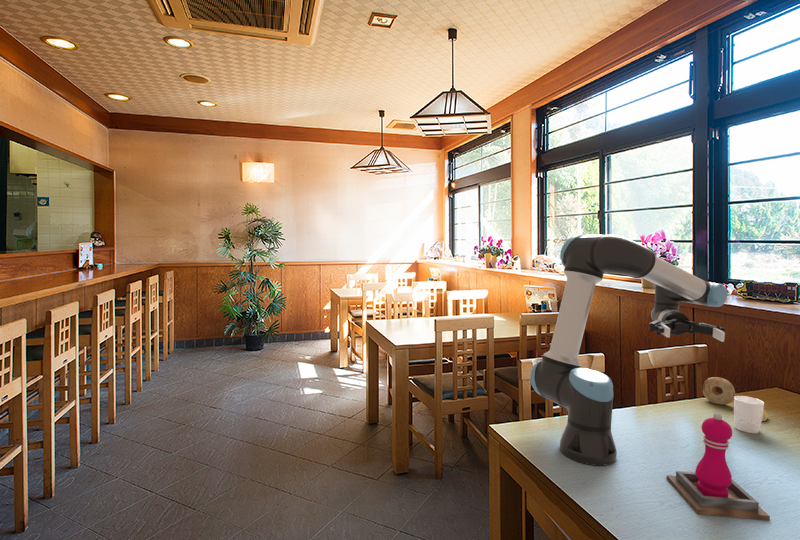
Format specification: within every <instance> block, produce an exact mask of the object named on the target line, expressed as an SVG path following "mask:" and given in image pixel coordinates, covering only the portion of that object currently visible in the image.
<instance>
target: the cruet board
mask: <svg viewBox="0 0 800 540" xmlns="http://www.w3.org/2000/svg"><path fill="white" fill-rule="evenodd" d="M675 471H676V472H675V475H672V474H666V480H667V481H668V482H669V483H670V484H671V486H672V487H673V488H674V489H675V491H677V493H679V495H680V496H681V497H682V498H683V500H685V502H686V503H687V504H688V505H689V506H690V507H691V508H692V509H693V511H694V512H695V513H696V514H697V515H705V516H707V515H708V516H715V517H716V516H718V517H726V518H727V517H728V518H729V517H730V518H738V519H739V518H741V519H752V520H764V521H770V520H771V519H770V518H771V516H770V514H768V513H767V512H766V511H765V510H764V509H763V508H761V506H759V504H760V502H758V501H757V500H756V499H755V498H754V497H753V496H752V495H750V493H748V492H747V491H746V490H745V489H744V488H743V487H742V486H740V485H739V484H738V483H737V482H735V481H734V479H732V484H731V485H730V486H729V487H728V488H727V489H728V491H729V492H728V498H723V497H711V496H704V495H703V494H702V493H701V492H700V491H699V490H698V489H697V482H698V481H699V479H698V478H697V476H696V474H695V471H693V472H690V471H682V470H681V471H679V470H675Z"/></svg>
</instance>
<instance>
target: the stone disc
mask: <svg viewBox="0 0 800 540" xmlns="http://www.w3.org/2000/svg"><path fill="white" fill-rule="evenodd" d="M717 388H719V389H721V392H720V393H719V392H717V391H716V389H717ZM702 394H703V397H705V399H706V400H708V401H709V402H710V403H713V404H716V405H728V404H731V403H734V397H735V396H736V391H735V387H734V385H733V384H732V382H730V381H729V380H728V379H725V378H723V377H718V376H715V377H714V376H712V377H708V378H707V379H705V381H704V382H703V386H702Z"/></svg>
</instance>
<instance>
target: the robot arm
mask: <svg viewBox="0 0 800 540" xmlns="http://www.w3.org/2000/svg"><path fill="white" fill-rule="evenodd" d="M559 253H560V255H559V259H560V260H561V264H562V266H563V267H564V269H563V274H564V275H565V276H566V281H565V282H566V283H565V286H564V290H563V294H562V298H561V301H560V302H561V303H560V306H559V310H558V314H557V319H556V323H555V326H554V330H553V334H552V337H551V338H552V339H551V343H550V348H549V350H548V351H547V352H544V353H543V355H542V359H540V360H538V361H536V363H535V364H533V366H532V368H531V371H530V375H529V376H530V377H529V378H530V384H531V386H532V389H533V390H534V392H536V393H537V395H539V396H541V397H542V398H543V399H544V400H547V401H550V402H552V403H554V404H557V405H559V406H561V407H563V408H565V409H567V422H566V423H567V424H566V426H565V428H564V430H563V433H562V435H561V438H560V441H559V450H560V452H561V453H562V454H563V455H564V456H565V457H567V458H569V459H571V460H573V461H575V460H576V461H575V462H578V461H579V462H578V463H581V462H583V463H582V464H585V463H588V464H587V465H590V464H595V465H594V466H605V465H604V464H609V465H612V464H614V463H615V462H616V461H617V447H616V443H615V439H614V436H613V433H612V420H613V405H614V403H613V402H614V385H613V381H612V379H611V378H610V377H609V376H608V375H607V374H605V373H603V372H600V371H599V370H595V369H590V368H587V367H582V364H581V362H580V361H579V354H580V349H581V345H582V342H583V337H584V333H585V331H586V330H585V329H586V325H587V321H588V317H589V312H590V309H591V305H592V300H593V296H594V293H595V288H596V285H597V284H598V283H600V282H601V281H603V279H604V278H603V277H604V274H617V275H625V276H629V277H632V278H634V279H644V280H645V281H648V282H650V283H652V284H654V287H655V289H654V290H655V292H654V304H653V306H654V307H653V309H652V310H651V311H650V312H651V313H650V317H651V320H652V321H651V322H649V327H648V328H649V329H648V330H649V332H650V333H651V332H652V333H653V332H655V335H657V336H661V335H663V336H664V337H666V338H668V339H670V338H671V335H673V336H681V335H685V334H686V333H690V334H697V333H698V334H701V335H702V334H703V335H708V336H712V338H713V339H716V340H717V341H720V342H722V343H723V342H725V338H726V334H727V328H725V327H721V326H720V325H713V324H708V323H705V322H695V321H691V320H690V319H689V317H688V316H687V315H685V314H684V313H682V312H681V311H680V303H687V304H695V305H701V306H706V307H713V308H714V307H715V308H718V307H719V308H720V307H722V306H724V304H725V303H726V301H727V299H728V298H727V297H728V290H727V287H726V286H725V285H724V284H722V283H716V282H710V281H709V282H708V281H706V280H704V279H702V278H699V277H698V276H696V275H694V274H692V273H690V272H689V271H686V270H684V269H683V268H680V267H678V266H676V265H674V264H673V263H670V262H669V261H667V260H664V259H662V258H661V257H658V256H657V255H656V253H655V251H653V250H652V249H651V248H649V247H646V246H645V245H643V244H641V243H638V242H637V241H634V240H632V239H629V238H627V237H624V236H621V235H617V234H593V233H591V234H589V233H588V234H587V233H585V234H577V235H572V236H571V237H570V238H568V239H567V240H566V241H565V242H564V243H563V245H562V246H561V250H560V252H559ZM613 462H614V463H613ZM611 463H612V464H611Z"/></svg>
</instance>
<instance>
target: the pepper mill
mask: <svg viewBox="0 0 800 540" xmlns="http://www.w3.org/2000/svg"><path fill="white" fill-rule="evenodd" d="M701 432H702V433H703V440H702V443H703V444H704V445H705V446H704V454H703V456H702V458H701V459H700V460H699V461H698V463H697V465H696V467H695V471H694V472H695V474H696V476H697V478H698V479H699V481H698V482H697V489H698V490H699V491H700V492H701V493H702V494H703V495H704V496H711V497H723V498H728V492H729V491H728V489H727V488H728V487H729V486H730V485H731V484H732V480H733V477H732V473H731V470H730V468H729V466H728V464H727V460H726V451H727V449H729V444H730V442H729V440H730V439H731V438H732V436H733V429H732V426H731V425H730V424H729V423H728V422H727V421H726V420H724V419H723V415H722V414H721V413H719V412H714V413H713V414H712V417H709V418H706V419H704V420H703V422H702V424H701Z"/></svg>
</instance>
